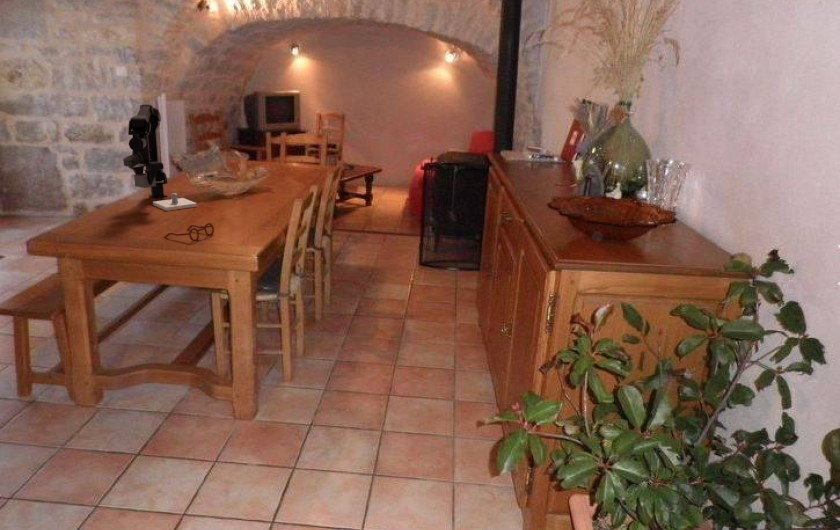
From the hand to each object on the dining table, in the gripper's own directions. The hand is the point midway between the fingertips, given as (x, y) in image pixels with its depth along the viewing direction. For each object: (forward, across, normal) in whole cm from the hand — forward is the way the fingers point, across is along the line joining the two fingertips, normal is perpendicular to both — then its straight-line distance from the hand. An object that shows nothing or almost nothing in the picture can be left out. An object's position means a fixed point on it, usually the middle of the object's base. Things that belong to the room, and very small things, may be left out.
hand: (145, 183), depth 276 cm
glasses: (+11, +48, -20) cm, 54 cm away
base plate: (+11, +6, +10) cm, 16 cm away
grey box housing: (+1, 0, 0) cm, 1 cm away
